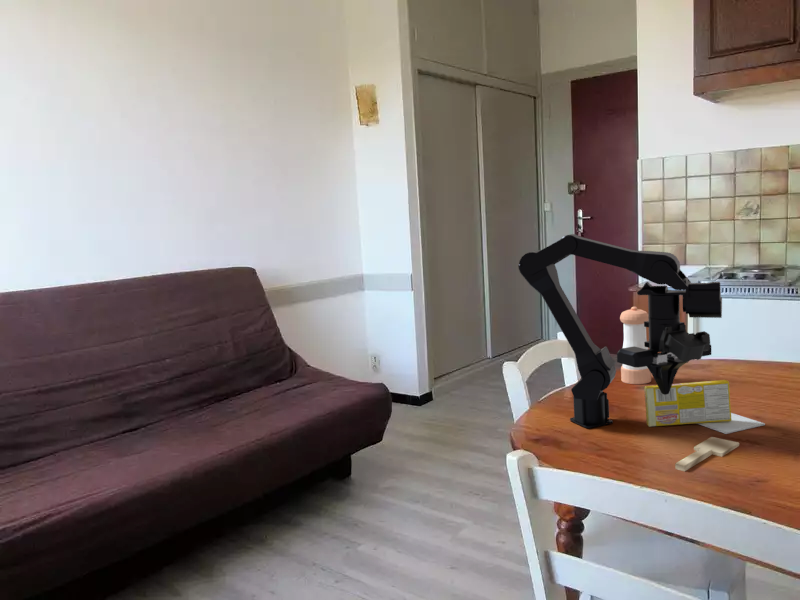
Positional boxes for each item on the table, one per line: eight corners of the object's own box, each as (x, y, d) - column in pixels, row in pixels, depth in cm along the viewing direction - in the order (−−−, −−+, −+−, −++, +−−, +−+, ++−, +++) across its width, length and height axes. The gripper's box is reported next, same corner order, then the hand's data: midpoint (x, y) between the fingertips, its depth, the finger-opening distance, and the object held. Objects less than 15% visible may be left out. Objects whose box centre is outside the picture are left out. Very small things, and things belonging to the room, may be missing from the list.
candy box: (727, 418, 132) (726, 378, 131) (732, 421, 130) (730, 381, 129) (645, 423, 134) (643, 384, 133) (648, 427, 132) (646, 387, 131)
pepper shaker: (630, 375, 172) (628, 304, 169) (656, 379, 166) (654, 305, 164) (615, 381, 167) (613, 308, 164) (642, 385, 162) (640, 309, 159)
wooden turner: (694, 474, 109) (694, 468, 108) (666, 466, 112) (665, 460, 112) (739, 445, 119) (739, 440, 119) (711, 439, 123) (711, 434, 123)
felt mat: (725, 434, 125) (725, 432, 125) (665, 412, 140) (665, 411, 140) (764, 424, 129) (764, 423, 129) (702, 404, 144) (702, 403, 144)
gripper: (654, 328, 117) (655, 412, 119) (734, 316, 123) (734, 396, 125) (614, 320, 127) (616, 397, 129) (689, 309, 134) (690, 383, 136)
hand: (665, 394), depth 130 cm, fingers closed
